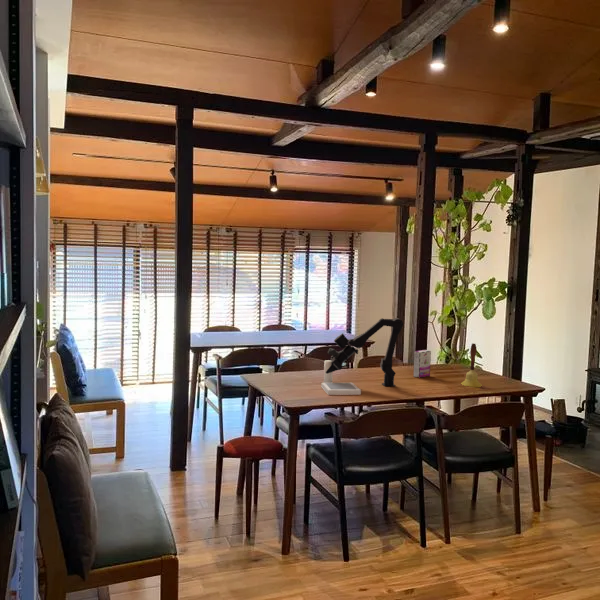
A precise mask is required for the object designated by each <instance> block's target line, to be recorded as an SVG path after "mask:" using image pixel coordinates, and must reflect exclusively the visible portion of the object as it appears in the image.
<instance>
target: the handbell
mask: <svg viewBox="0 0 600 600" xmlns="http://www.w3.org/2000/svg"><path fill="white" fill-rule="evenodd" d="M469 355H470V368H469V369H470V370H469V371H467V372H466V374H465V379H464V380H463V381H462V382H461V383H460V385H461V384H462V385H461V386H463V385H464V386H463V387H467V386H469V387H468V388H482V387H483V385H482V383H480V381H479V380H478V378H479V376H478V375H479V374H478V373H477V372H476V371H475V365H476V364H475V363H476V362H475V361H476V356H477V345H476V343H471V347H470V353H469ZM481 386H482V387H481Z"/></svg>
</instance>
